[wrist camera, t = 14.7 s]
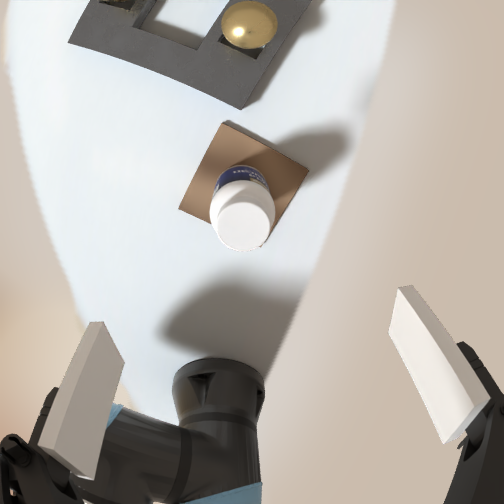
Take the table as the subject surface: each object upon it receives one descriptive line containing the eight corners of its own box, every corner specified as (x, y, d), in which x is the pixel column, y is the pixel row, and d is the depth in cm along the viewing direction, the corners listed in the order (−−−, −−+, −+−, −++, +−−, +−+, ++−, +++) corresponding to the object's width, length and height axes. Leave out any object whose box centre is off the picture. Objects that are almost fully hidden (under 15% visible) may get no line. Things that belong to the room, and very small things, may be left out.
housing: (240, 109, 27) (241, 110, 25) (76, 44, 22) (67, 42, 20) (309, 2, 22) (314, -3, 20) (141, -57, 16) (136, -64, 14)
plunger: (257, 62, 23) (260, 56, 20) (214, 42, 22) (210, 33, 19) (280, 26, 21) (287, 15, 18) (238, 5, 20) (238, -8, 17)
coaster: (260, 244, 34) (260, 247, 34) (179, 206, 32) (178, 208, 31) (307, 169, 30) (309, 170, 30) (221, 122, 28) (221, 123, 27)
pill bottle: (273, 169, 30) (289, 201, 21) (261, 217, 32) (270, 265, 24) (220, 159, 29) (213, 186, 20) (210, 208, 31) (201, 254, 23)
